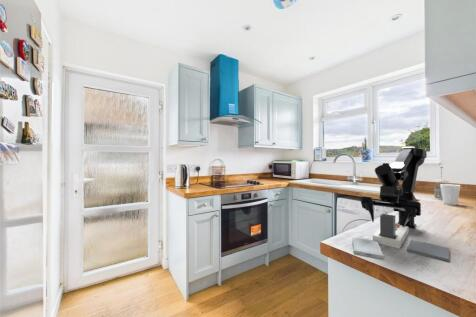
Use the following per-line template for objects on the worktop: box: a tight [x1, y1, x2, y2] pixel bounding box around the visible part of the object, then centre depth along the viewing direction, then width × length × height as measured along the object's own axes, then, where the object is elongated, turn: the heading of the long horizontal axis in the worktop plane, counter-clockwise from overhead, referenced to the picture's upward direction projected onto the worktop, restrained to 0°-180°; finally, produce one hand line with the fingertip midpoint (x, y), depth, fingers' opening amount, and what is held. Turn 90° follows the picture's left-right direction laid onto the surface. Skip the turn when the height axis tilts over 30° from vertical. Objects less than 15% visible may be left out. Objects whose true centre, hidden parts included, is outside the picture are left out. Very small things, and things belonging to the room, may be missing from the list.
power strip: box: [372, 222, 410, 250], centre depth 81 cm, size 22×8×3 cm, turn 133°
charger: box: [379, 213, 396, 239], centre depth 76 cm, size 4×4×10 cm
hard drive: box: [352, 237, 385, 260], centre depth 71 cm, size 2×8×12 cm
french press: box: [432, 166, 450, 201], centre depth 154 cm, size 10×12×25 cm
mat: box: [406, 239, 450, 263], centre depth 69 cm, size 11×10×1 cm
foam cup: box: [439, 183, 461, 206], centre depth 138 cm, size 10×9×13 cm
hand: (387, 223), depth 75 cm, fingers open, 9 cm apart
